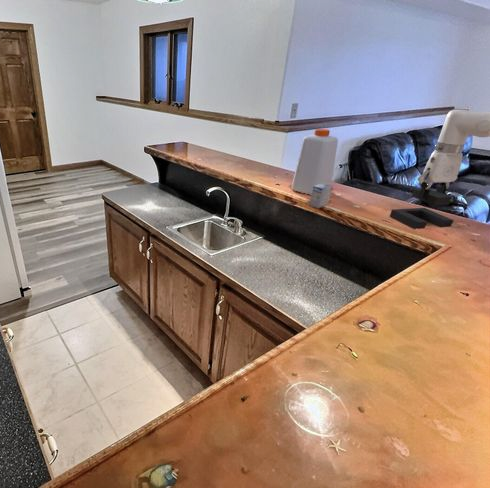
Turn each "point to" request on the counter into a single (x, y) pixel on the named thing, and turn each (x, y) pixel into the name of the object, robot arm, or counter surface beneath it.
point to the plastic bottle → (315, 161)
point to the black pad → (433, 197)
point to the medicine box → (320, 195)
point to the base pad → (412, 220)
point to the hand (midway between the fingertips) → (430, 198)
